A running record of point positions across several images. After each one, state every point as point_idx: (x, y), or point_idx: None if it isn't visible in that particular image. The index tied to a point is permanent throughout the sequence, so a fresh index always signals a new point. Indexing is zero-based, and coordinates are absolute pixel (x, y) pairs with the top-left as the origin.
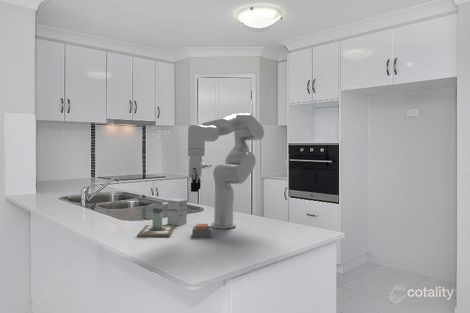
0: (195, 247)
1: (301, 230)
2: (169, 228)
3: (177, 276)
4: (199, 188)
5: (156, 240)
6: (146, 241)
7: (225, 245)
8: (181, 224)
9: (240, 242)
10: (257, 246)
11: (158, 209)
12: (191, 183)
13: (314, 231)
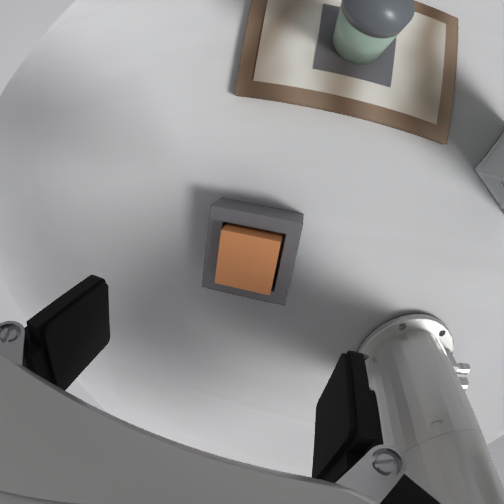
0: (92, 198)
1: None
2: (373, 102)
3: None
4: (317, 404)
5: (190, 48)
6: (180, 15)
7: (117, 295)
8: (487, 187)
9: (153, 347)
10: (119, 367)
11: (344, 2)
12: (33, 322)
13: None
